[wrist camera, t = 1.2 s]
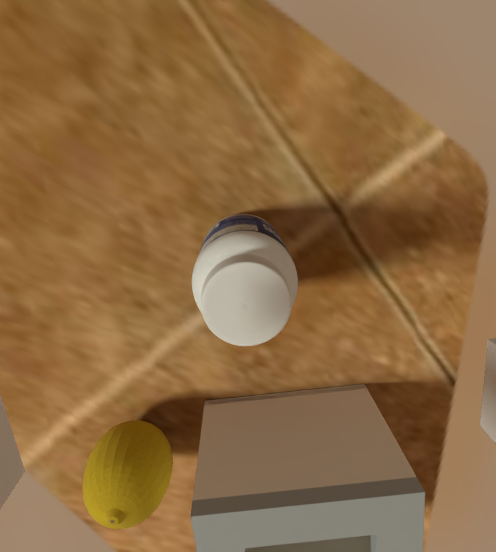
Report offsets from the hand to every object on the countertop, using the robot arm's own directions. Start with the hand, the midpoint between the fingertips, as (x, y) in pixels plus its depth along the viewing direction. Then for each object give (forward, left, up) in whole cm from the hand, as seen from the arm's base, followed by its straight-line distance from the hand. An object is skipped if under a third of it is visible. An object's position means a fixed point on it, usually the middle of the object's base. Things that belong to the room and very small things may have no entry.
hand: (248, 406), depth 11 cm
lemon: (+13, -9, -17) cm, 23 cm away
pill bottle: (0, 0, -17) cm, 17 cm away
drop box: (+17, +2, -17) cm, 24 cm away
